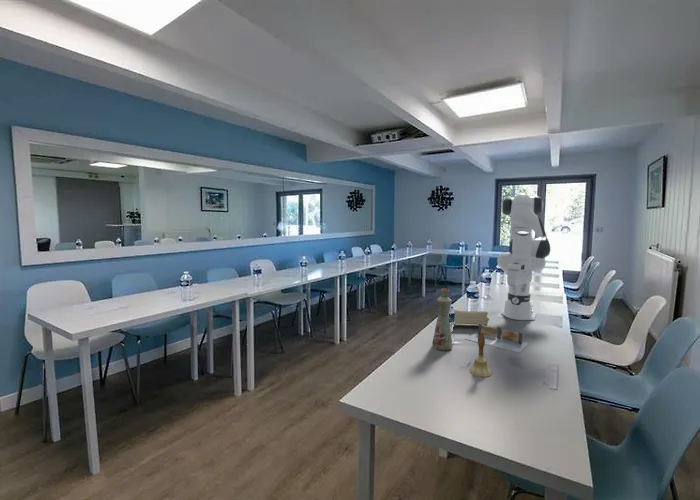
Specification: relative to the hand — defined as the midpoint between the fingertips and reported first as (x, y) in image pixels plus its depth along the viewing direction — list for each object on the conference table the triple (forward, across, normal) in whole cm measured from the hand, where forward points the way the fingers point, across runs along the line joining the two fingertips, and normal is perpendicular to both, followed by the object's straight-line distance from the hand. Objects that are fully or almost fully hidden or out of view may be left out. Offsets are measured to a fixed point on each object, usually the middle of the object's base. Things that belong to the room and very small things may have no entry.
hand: (519, 293), depth 176 cm
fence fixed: (+23, +7, -11) cm, 26 cm away
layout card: (+23, +11, -5) cm, 26 cm away
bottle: (+24, +38, -18) cm, 48 cm away
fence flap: (+23, +6, 0) cm, 24 cm away
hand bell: (+25, +48, +6) cm, 55 cm away
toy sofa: (+23, +1, -27) cm, 35 cm away
